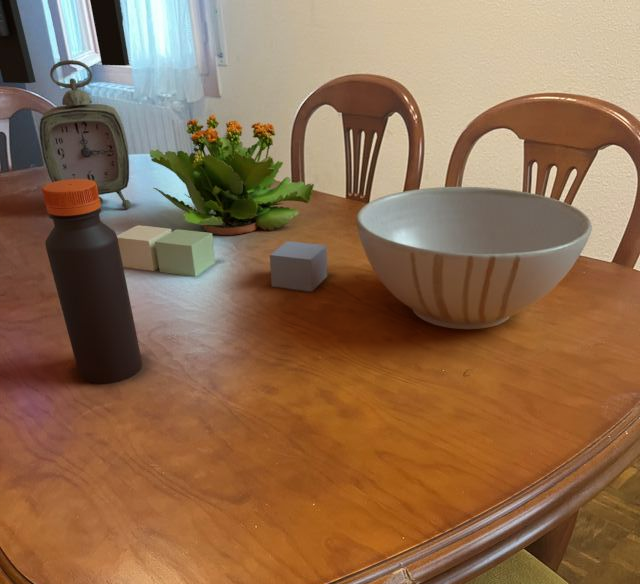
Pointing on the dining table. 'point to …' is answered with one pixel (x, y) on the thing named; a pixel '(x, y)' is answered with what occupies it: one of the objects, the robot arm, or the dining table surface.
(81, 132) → the tabletop clock
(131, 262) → the cream block
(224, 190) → the potted flower
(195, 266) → the sage block
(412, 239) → the decorative bowl
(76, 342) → the dark brown bottle
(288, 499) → the dining table surface
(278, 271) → the slate block
